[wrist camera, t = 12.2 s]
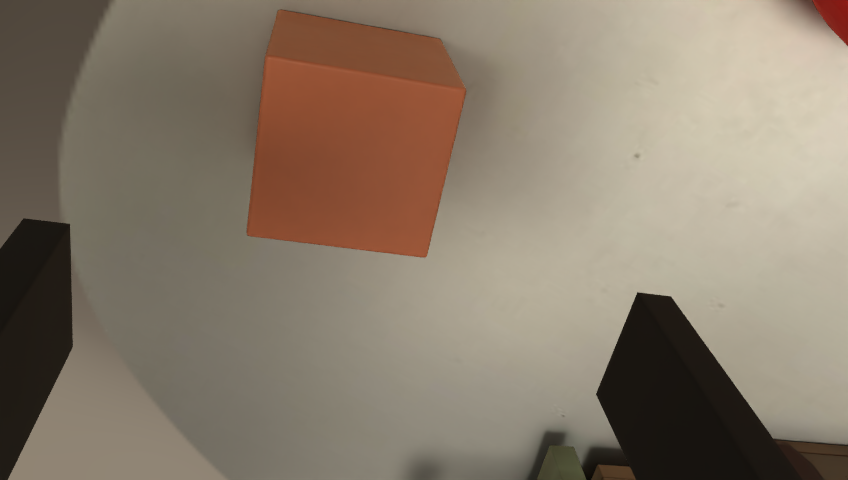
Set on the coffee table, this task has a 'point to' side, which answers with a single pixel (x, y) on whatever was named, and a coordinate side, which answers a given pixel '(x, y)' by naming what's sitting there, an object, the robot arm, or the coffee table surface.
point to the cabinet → (825, 458)
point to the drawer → (577, 467)
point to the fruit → (835, 16)
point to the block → (352, 135)
